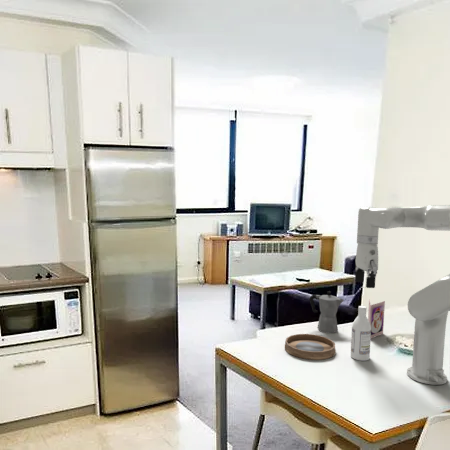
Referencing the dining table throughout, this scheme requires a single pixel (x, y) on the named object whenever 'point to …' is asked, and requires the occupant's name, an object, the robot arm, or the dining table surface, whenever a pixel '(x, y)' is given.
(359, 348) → the bath foam
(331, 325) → the coffeepot
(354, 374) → the dining table surface
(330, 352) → the round tray
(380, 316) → the greeting card
